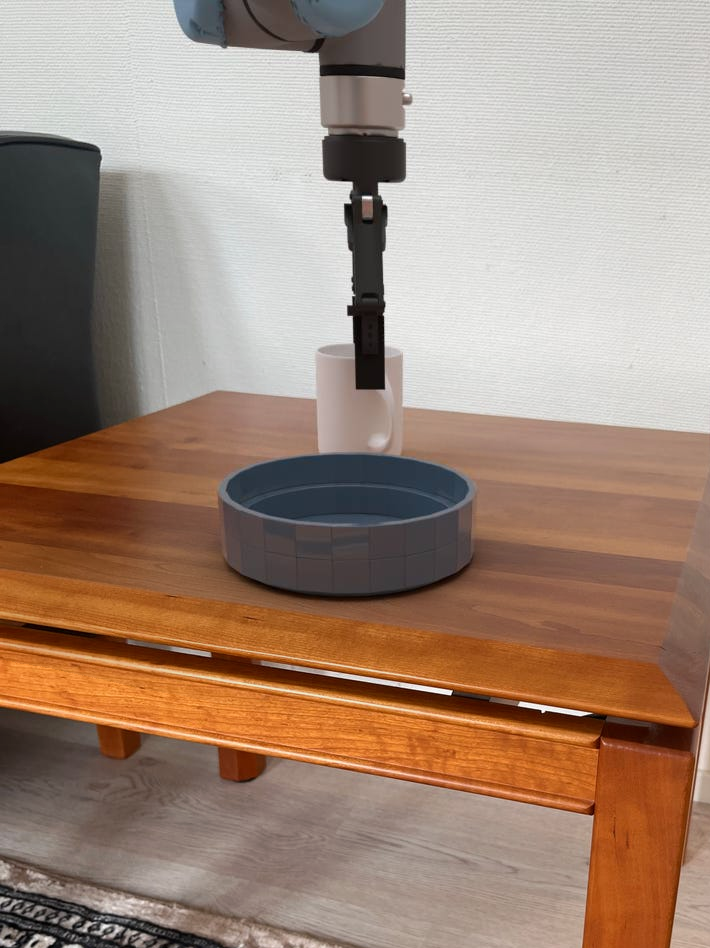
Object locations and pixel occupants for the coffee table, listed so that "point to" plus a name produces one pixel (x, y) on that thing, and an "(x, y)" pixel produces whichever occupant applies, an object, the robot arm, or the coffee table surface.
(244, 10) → the robot arm
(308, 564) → the bowl
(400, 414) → the mug
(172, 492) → the coffee table surface
